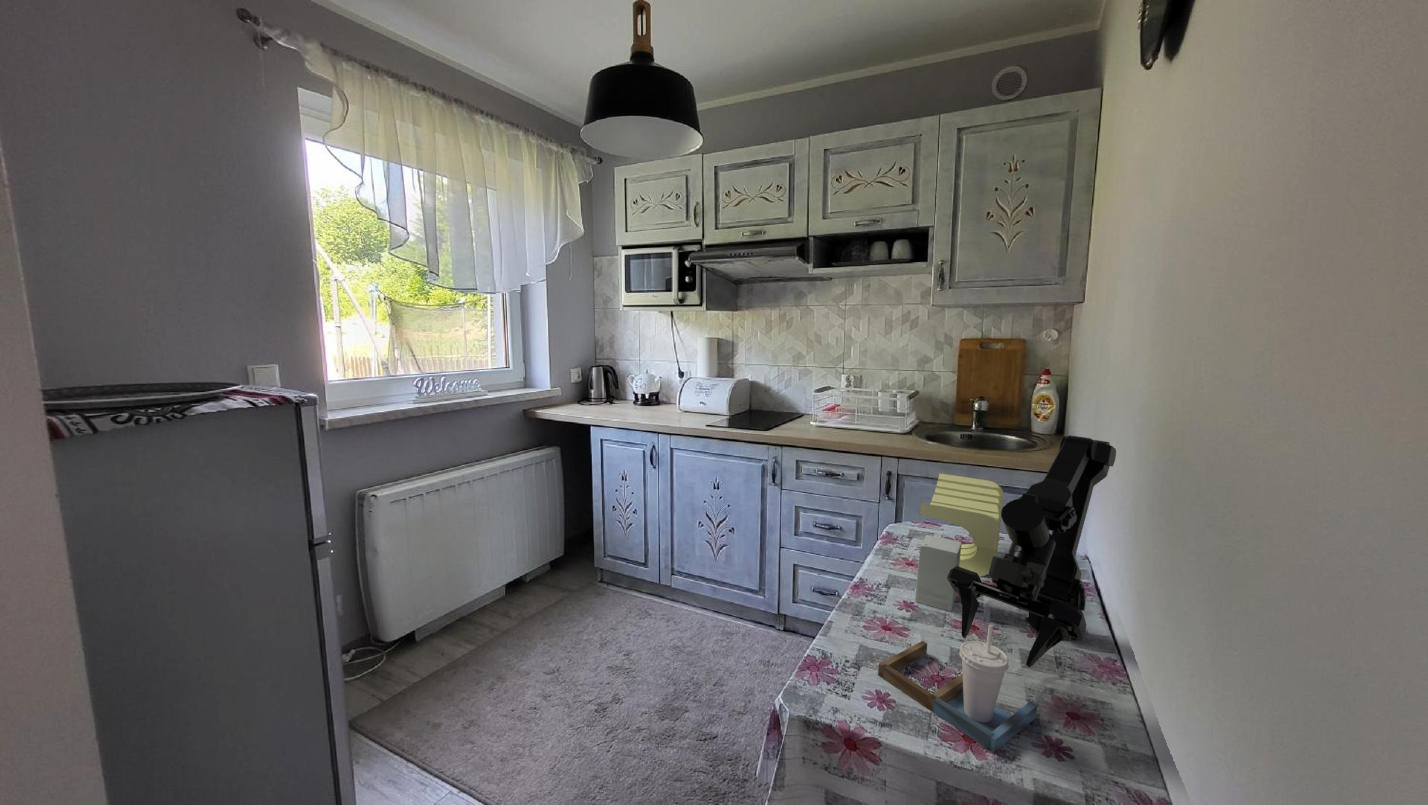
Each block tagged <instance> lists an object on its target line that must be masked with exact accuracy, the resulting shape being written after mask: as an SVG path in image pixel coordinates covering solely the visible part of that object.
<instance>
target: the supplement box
mask: <svg viewBox="0 0 1428 805" xmlns="http://www.w3.org/2000/svg"><path fill="white" fill-rule="evenodd" d="M923 538H924V539H923V540H922V542H921V544H920V545H919V554H918V555H919V556H918V566H917V567H918V568H917V577H916V586H915V587H916V588H915V599H914V601H915V602H917V603H919V604H924V605H926V606H931V607H933V608H937V609H940V610H943V611H947V610H948V612H952V611H953V606H954V603H955V600H956V598H957V593H956V592H955V591H954V590H953V588H952V586H951V584H950V583H949V581H948V579H947V577H948V574H949V572H950V570H951V569H952V568H954V567H956V566H958V567H959V564H960V553H961V544H963V543H962V541H958V540H953V539H950V538H946V537H945V538H944V537H938V536H935V535H930V534H929V535H928V534H926V535H925V537H923Z"/></svg>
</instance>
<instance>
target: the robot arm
mask: <svg viewBox="0 0 1428 805" xmlns="http://www.w3.org/2000/svg"><path fill="white" fill-rule="evenodd" d="M1116 457H1117V449H1116V448H1115V447H1114V446H1113V445H1111V444H1110V441H1105V440H1098V439H1092V438H1091V437H1085V436H1084V437H1083V436H1076V435H1072V434H1071V435H1064V436H1063V437H1060V443H1059V446H1058V451H1057V454H1056V456H1055V458H1054V460H1053V461H1052V464H1051V466H1050V468H1049V469H1048V471H1047V473H1046V475H1045V477H1044V478H1043V480H1042V481H1039V482H1037V483H1034V484H1031V485H1030V486H1029V488H1028V489H1027V491H1025V492H1024V493H1022V495H1021V496H1020V497H1019V498H1017V499H1013V500H1011V501H1009V502H1007V503H1006V504H1005V505H1004V506H1003V508H1002V511H1001V521H1002V523H1003V525H1004V527H1005V530H1006V533H1007V535H1008V538H1009V539H1010V541H1011V545H1010V547H1009V550H1008V552H1007V553H1005V554H1004V555H1003V557H1002V558H1001V557H998V556H997V557H995V556H993V558H992V562H991V566H990V570H989V574H987V576H988V577H991V582H992V583H993V584H995V585H991V584H988V583H986V582H983V581H982V580H981V578H980V576H978V574H977V573H976V572H973V571H970V570H967V569H964V568H961V567H958V566H956V567H954V568H952V569H951V570H950V572H949V574H948V577H947V579H948V581H949V583H950V584H951V586H952V588H953V590H954V591H955V592H956V595H957V596H958V597H959V599H960V603H961V637H962V638H963V639H966V638H967V637H968V635H969V633H970V631H971V628H972V625H973V622H974V620H975V617H976V614H977V612H978V608H979V607H980V603H979V601H978V599H979V598H981V596H985V597H988V598H990V599H993V600H996V601H997V602H1001V603H1003V604H1007V605H1009V606H1011V607H1014V608H1017V609H1019V610H1022V611H1024V612H1028V616H1025V618H1024V621H1025V622H1027V624H1029V626H1031V627H1032V628H1033V630H1035V631H1036V632H1037V633H1038V634H1037V636H1036V638H1035V640H1034V642H1033V644H1032V646H1031V647H1030V648H1031V649H1030V650H1029V653H1028V656H1027V659H1026V662H1025V663H1026V666H1027V667H1028V668H1031V667H1033V665H1034V664H1036V662H1038V661H1039V660H1040V658H1042V657H1043V656H1044V654H1046V653H1047V652H1048V651H1049V650H1050V649H1051V648H1053V647H1055V646H1056V645H1057V644H1059V643H1061V642H1062V641H1066V642H1069V643H1070V642H1071V641H1072V640H1078V641H1084V637H1085V634H1086V631H1087V622H1086V618H1085V615H1084V613H1083V612H1084V611H1085V610H1086V603H1087V602H1086V601H1087V599H1086V590H1085V587H1084V583H1083V580H1082V579H1081V578H1082V572H1081V569H1080V566H1079V563H1078V561H1077V558H1076V557H1077V556H1076V555H1077V551H1078V548H1079V544H1080V539H1081V536H1082V532H1083V528H1084V525H1085V520H1086V517H1087V514H1088V510H1089V505H1090V502H1091V498H1092V495H1093V491H1094V490H1093V489H1094V488H1095V486H1097V485H1098V484H1099V483H1100V482H1102V480H1104V479H1106V478H1107V476H1108V473H1109V470H1110V467H1114V465H1115V461H1116V459H1117V458H1116ZM1050 531H1051V533H1050Z"/></svg>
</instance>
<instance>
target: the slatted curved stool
mask: <svg viewBox="0 0 1428 805" xmlns="http://www.w3.org/2000/svg"><path fill="white" fill-rule="evenodd" d="M935 486H936V487H935V490H934V494H933V495H932V498H931V502H930V503H925V502H921V503H920V511H919V512H920V513H919V515H920V516H925V517H931V518H934V519H938V520H940V521H945V522H949V523H952V524H953V525H956V526H958V527H961V528H962V529H964V530H966V531H967V533H969V535H970V536H971V537H972V540H973V543H968V544H966V543H965V544H964V543H962V544H961V553H960V564H959V567H961V568H964V569H967V570H970V571H973V572H976V573H977V574H978V576H979V577H984V576H988V574H989V570H990V566H991V562H992V558H993V556H995V557H998V549H999V540H1000V531H1001V525H1002V524H1001V522H1002V517H1001V511H1002V508H1003V507H1004V506H1003V505H1004V491H1003V488H1002V487H1001V486H1000V485H999V484H998V483H996V482H994V481H991V480H986V479H982V478H981V479H979V478H972V477H966V476H960V475H953V474H947V473H939V474H938V478H937V483H936V485H935Z"/></svg>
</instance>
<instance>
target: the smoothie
mask: <svg viewBox="0 0 1428 805" xmlns="http://www.w3.org/2000/svg"><path fill="white" fill-rule="evenodd" d="M993 628H994V625H993V624H988V629H987V639H986V642H984V641H979V640H968V641H965V642H962V644H961V645H960V649H959V652H958V653H959V657H960V658H961V667H962V671H961V672H962V674H963V695H964V711H965V713H966V714H967V715H968V716H969V717H970V718H972V719H973V720H976V721H978V722H989V721H991V719H992V716H993V712H994V708H995V706H997V705H996V704H997V702H998V701H997V700H998V697H999V693H1000V690H1001V686H1002V683H1003V679H1004V675H1005V673H1006V671H1008V669H1009V667H1010V666H1009V660H1010V659H1009V657H1008V655H1007V654H1006V653H1005V652H1004V651H1003V650H1002V649H1000V648H998V647H996V646H995V645H992V639H993Z"/></svg>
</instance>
